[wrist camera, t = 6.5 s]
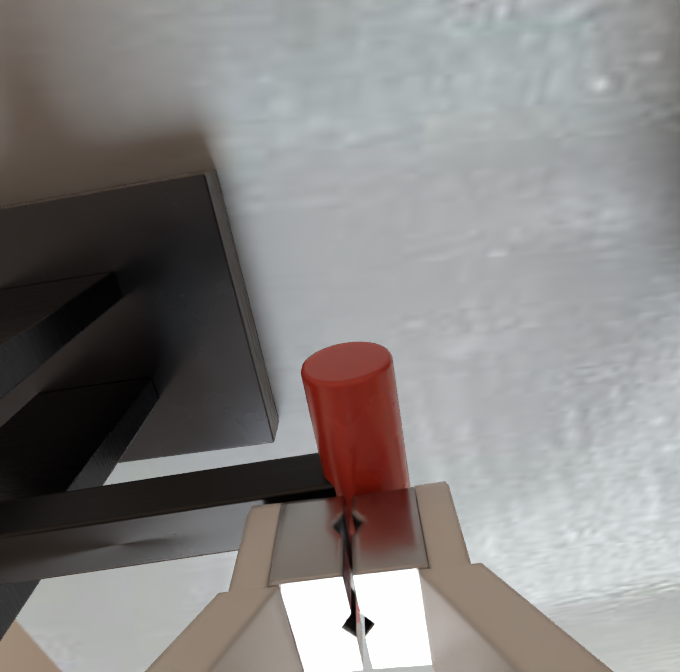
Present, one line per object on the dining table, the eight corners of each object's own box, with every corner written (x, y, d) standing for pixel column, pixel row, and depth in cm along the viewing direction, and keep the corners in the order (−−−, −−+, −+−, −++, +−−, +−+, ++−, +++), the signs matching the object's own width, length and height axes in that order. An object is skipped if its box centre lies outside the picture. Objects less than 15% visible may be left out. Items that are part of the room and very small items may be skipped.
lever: (383, 323, 9) (402, 390, 7) (413, 536, 11) (435, 642, 9) (-263, 429, 9) (-441, 523, 7) (-123, 614, 11) (-230, 733, 9)
